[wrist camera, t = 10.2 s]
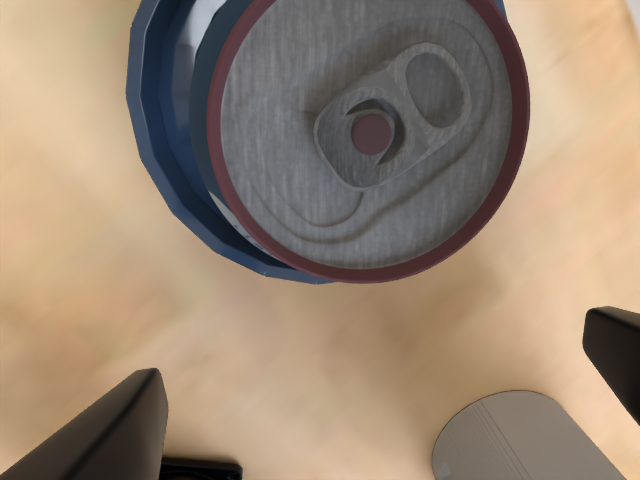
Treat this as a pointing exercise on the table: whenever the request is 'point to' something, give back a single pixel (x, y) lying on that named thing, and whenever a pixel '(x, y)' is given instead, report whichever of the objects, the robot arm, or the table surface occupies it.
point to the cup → (518, 443)
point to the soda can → (359, 128)
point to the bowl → (184, 125)
